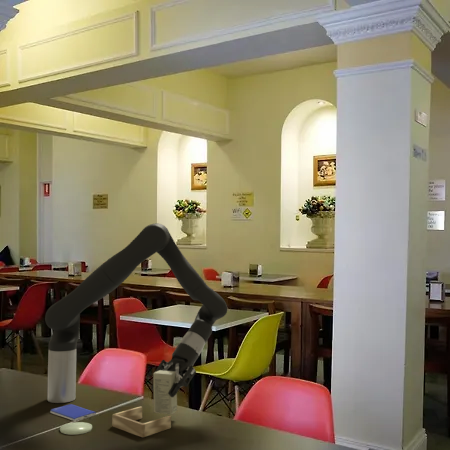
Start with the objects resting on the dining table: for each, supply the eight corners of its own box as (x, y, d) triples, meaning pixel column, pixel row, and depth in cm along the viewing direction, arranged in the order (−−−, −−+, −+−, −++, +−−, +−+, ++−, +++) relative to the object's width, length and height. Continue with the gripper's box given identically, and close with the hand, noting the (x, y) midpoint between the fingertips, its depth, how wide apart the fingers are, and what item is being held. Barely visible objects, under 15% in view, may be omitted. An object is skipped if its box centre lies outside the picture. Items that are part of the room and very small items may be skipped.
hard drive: (50, 409, 177) (74, 417, 169) (71, 403, 183) (96, 411, 176) (50, 414, 177) (74, 423, 169) (71, 408, 183) (96, 416, 176)
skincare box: (177, 410, 173) (178, 371, 173) (171, 415, 169) (172, 374, 169) (158, 408, 175) (159, 369, 175) (152, 412, 171) (153, 372, 171)
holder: (140, 417, 173) (140, 406, 173) (170, 427, 164) (171, 415, 164) (112, 426, 165) (112, 414, 165) (142, 437, 156) (142, 424, 156)
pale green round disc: (62, 424, 166) (62, 422, 166) (93, 423, 167) (93, 421, 167) (58, 435, 157) (58, 433, 157) (90, 434, 158) (91, 431, 158)
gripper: (167, 339, 183) (139, 381, 174) (199, 345, 173) (171, 390, 164) (179, 353, 186) (152, 395, 177) (211, 359, 177) (184, 404, 168)
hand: (161, 393), depth 171 cm, fingers closed on skincare box, 7 cm apart
